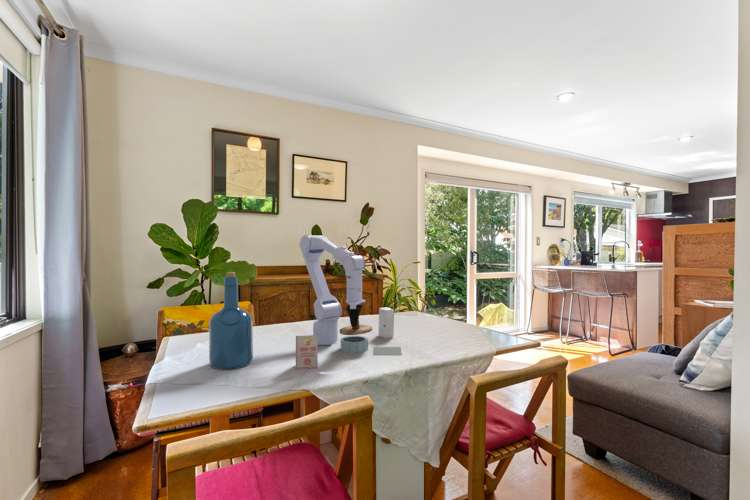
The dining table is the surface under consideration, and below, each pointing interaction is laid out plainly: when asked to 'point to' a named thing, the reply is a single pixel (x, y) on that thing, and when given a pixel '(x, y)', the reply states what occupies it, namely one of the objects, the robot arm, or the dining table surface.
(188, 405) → the dining table surface
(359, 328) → the lid
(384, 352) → the mat
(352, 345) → the bowl
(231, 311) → the wine bottle
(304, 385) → the dining table surface
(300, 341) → the beige printed carton
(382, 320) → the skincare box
